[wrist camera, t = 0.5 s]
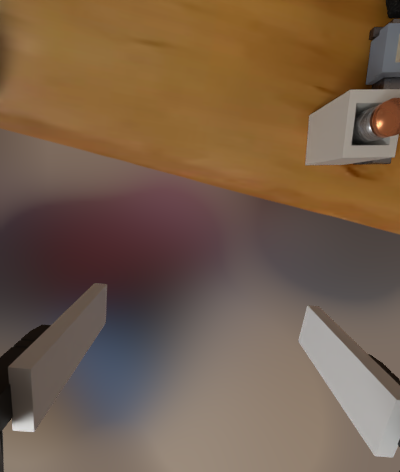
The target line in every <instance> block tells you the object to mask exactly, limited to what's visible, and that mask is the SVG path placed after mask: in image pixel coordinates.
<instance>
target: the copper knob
mask: <svg viewBox="0 0 400 472" xmlns="http://www.w3.org/2000/svg"><path fill="white" fill-rule="evenodd" d="M398 134H400V98H392V99H390V100H388V101H385V102H383V103H381V104H379V105H376V106H374V107H372V108H370V109H368V110H365V111H363V112H361V113H359V114H356V115H355V120H354V128H353V136H352V144H351V145H360V144H364V143H368V142H371V141H375V140H379V139H383V138H387V137H391V136H395V135H398Z"/></svg>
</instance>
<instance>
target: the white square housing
mask: <svg viewBox="0 0 400 472" xmlns="http://www.w3.org/2000/svg"><path fill="white" fill-rule="evenodd" d="M392 98H400V89H369V90H349V91H347V92H346V93H344V94H343V95H341V96H339V97H338V98H336V99H335V100H333V101H332V102H330V103H328V104H327V105H325V106H324V107H322V108H320V109H319V110H317V111H316V112H314V113H312V114H311V115H309V126H308V138H307V150H306V163H305V165H345V164H352V163H359V162H365V161H372V160H379V159H385V158H392V157H395V153H396V147H397V141H398V135H399V134H398V135H395V136H391V137H387V138H383V139H379V140H375V141H371V142H368V143H364V144H360V145H351V144H352V136H353V128H354V120H355V115H356V114H359V113H361V112H363V111H365V110H368V109H370V108H372V107H374V106H376V105H379V104H381V103H383V102H385V101H388V100H390V99H392Z"/></svg>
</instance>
